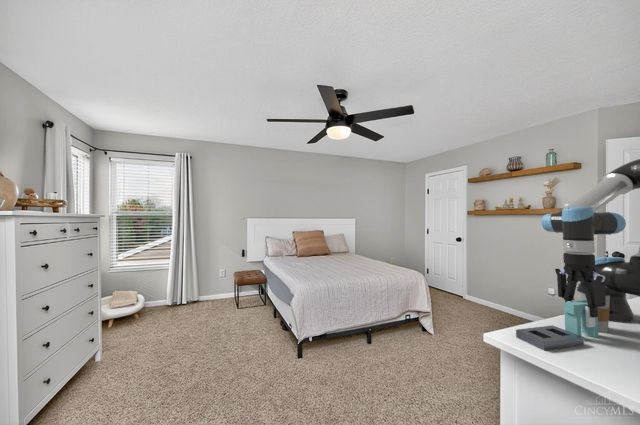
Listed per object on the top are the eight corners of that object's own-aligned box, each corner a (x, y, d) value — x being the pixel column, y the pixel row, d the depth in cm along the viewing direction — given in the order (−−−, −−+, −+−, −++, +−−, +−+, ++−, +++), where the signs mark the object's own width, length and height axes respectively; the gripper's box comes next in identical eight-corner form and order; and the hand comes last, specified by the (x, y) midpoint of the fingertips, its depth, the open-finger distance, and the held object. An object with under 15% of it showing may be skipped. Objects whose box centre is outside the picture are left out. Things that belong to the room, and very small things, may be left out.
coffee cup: (620, 334, 87) (618, 289, 88) (590, 332, 89) (588, 288, 89) (598, 324, 96) (597, 283, 96) (572, 323, 97) (570, 282, 98)
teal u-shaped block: (587, 332, 90) (585, 299, 90) (600, 336, 86) (598, 303, 86) (563, 335, 88) (562, 302, 88) (576, 340, 84) (574, 305, 84)
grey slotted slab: (553, 332, 89) (552, 325, 90) (584, 345, 81) (583, 337, 81) (516, 337, 87) (516, 329, 87) (544, 350, 78) (543, 342, 78)
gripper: (542, 250, 95) (544, 314, 95) (602, 257, 78) (605, 336, 78) (558, 249, 97) (561, 313, 96) (621, 256, 80) (625, 333, 79)
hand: (581, 323), depth 87 cm, fingers open, 4 cm apart
